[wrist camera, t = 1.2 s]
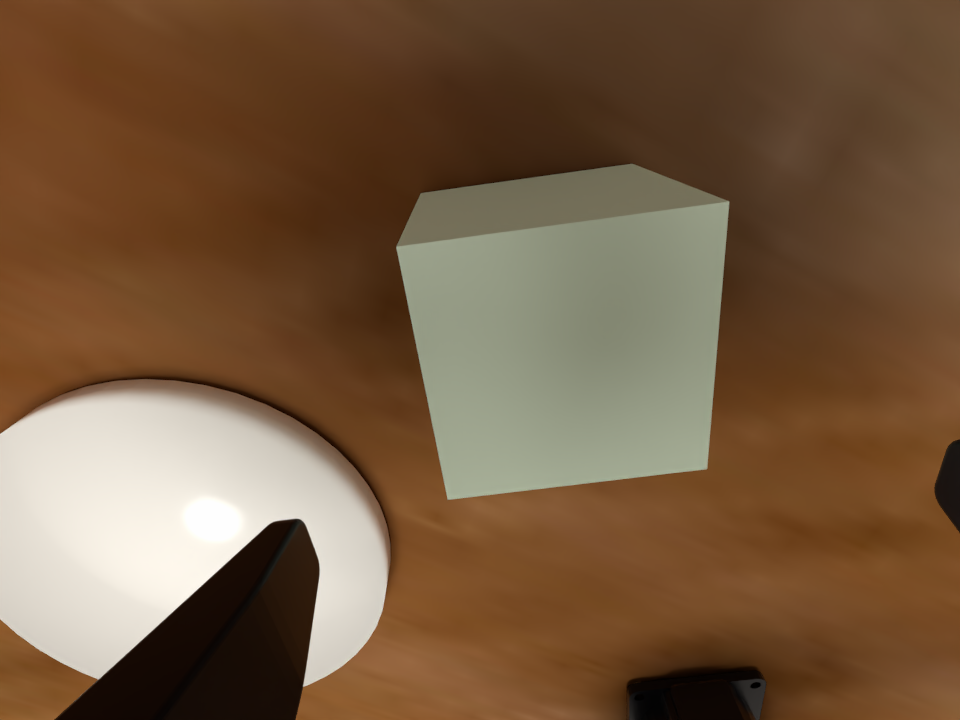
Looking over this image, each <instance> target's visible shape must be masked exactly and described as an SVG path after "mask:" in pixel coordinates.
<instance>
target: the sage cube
mask: <svg viewBox="0 0 960 720" xmlns="http://www.w3.org/2000/svg"><path fill="white" fill-rule="evenodd" d="M728 212H729V201H727V200H724V199H722V198H719V197H717V196H714V195H711V194H709V193H706V192H704V191H701V190H699V189H696V188H694V187H691V186H688V185H686V184H683V183H681V182H678V181H676V180H673V179H670V178H668V177H665V176H663V175H660V174H658V173H655V172H652V171H650V170H647V169H645V168H642V167H640V166H637V165H635V164H626V165H619V166H612V167H605V168H597V169H590V170H583V171H576V172H569V173H561V174H554V175H547V176H540V177H533V178H526V179H518V180H511V181H504V182H497V183H490V184H482V185H475V186H468V187H461V188H454V189H446V190H439V191H432V192H425V193H421V194H420V196H419V198H418V200H417V203H416V205H415V207H414V209H413V211H412V213H411V216H410V218H409V220H408V222H407V224H406V226H405V229H404V231H403V233H402V235H401V237H400V240H399V242H398V244H397V246H396V248H397V253H398V258H399V263H400V268H401V273H402V278H403V283H404V288H405V292H406V297H407V302H408V307H409V312H410V317H411V322H412V327H413V332H414V337H415V341H416V346H417V351H418V356H419V361H420V366H421V371H422V376H423V381H424V386H425V391H426V395H427V400H428V405H429V410H430V415H431V420H432V425H433V430H434V435H435V440H436V445H437V449H438V454H439V459H440V464H441V469H442V474H443V479H444V484H445V489H446V494H447V499H448V500H450V499H459V498H467V497H476V496H484V495H492V494H501V493H509V492H518V491H526V490H535V489H543V488H551V487H560V486H568V485H577V484H585V483H593V482H602V481H610V480H619V479H627V478H636V477H644V476H652V475H661V474H669V473H678V472H686V471H694V470H703V469H707V463H708V451H709V439H710V427H711V415H712V403H713V391H714V380H715V368H716V356H717V344H718V332H719V320H720V308H721V296H722V284H723V272H724V260H725V248H726V236H727V224H728Z"/></svg>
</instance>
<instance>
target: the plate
mask: <svg viewBox="0 0 960 720" xmlns="http://www.w3.org/2000/svg"><path fill="white" fill-rule="evenodd" d="M288 519H301V520H302V521H303V522H304V523H305V525H306V527H307V530H308V532H309V535H310V538H311V540H312V543H313V546H314V548H315V551H316V554H317V556H318V560H319V566H320V576H319V583H318V590H317V597H316V604H315V611H314V618H313V625H312V632H311V639H310V646H309V653H308V660H307V667H306V673H305V679H304V685H303V687H304V686H306V685H309V684H311V683H313V682H315V681H317V680H320V679H322V678H324V677H326V676H328V675H329V674H331V673H332V672H334V671H335V670H337V669H338V668H340V667H342V666H343V665H344V664H345V663H346V662H348V661H349V660H350V659H351V658H352V657H353V656H355V655H356V654H357V653H358V651H359V650H360V649H361V648H362V647H363V646H364V645H365V643H366V642H367V641H368V639H369V638H370V636H371V634H372V633H373V631H374V629H375V628H376V626H377V624H378V621H379V618H380V616H381V613H382V610H383V605H384V599H385V593H386V587H387V581H388V574H389V568H390V562H391V552H390V539H389V533H388V528H387V524H386V521H385V518H384V516H383V513H382V510H381V508H380V505H379V503H378V502H377V500H376V498H375V496H374V494H373V493H372V491H371V489H370V487H369V486H368V484H367V483H366V482H365V480H364V479H363V478H362V477H361V475H360V474H359V473H358V471H357V470H356V469H355V467H354V466H353V465H352V464H351V463H350V462H349V461H348V460H347V459H346V458H345V457H344V456H343V455H342V454H341V453H340V452H339V451H338V450H337V449H336V448H334V447H333V446H332V445H331V444H329V443H328V442H327V441H326V440H324V439H323V438H322V437H321V436H319V435H318V434H317V433H316V432H314V431H313V430H311V429H309V428H308V427H306V426H305V425H303V424H301V423H300V422H298V421H297V420H295V419H294V418H292V417H290V416H288V415H286V414H284V413H282V412H280V411H278V410H276V409H274V408H272V407H270V406H268V405H266V404H264V403H261V402H258V401H256V400H253V399H250V398H248V397H245V396H242V395H239V394H237V393H233V392H230V391H226V390H222V389H218V388H214V387H210V386H207V385H201V384H195V383H188V382H181V381H175V380H155V379H136V380H122V381H111V382H106V383H101V384H96V385H91V386H86V387H83V388H80V389H77V390H74V391H71V392H68V393H65V394H62V395H60V396H58V397H56V398H54V399H52V400H50V401H48V402H46V403H44V404H42V405H40V406H38V407H37V408H36V409H34V410H33V411H31V412H30V413H29V414H27V415H26V416H25V417H23V418H22V419H20V420H19V421H18V422H16V423H15V424H13V425H12V426H11V427H9V428H8V429H7V430H5V431H4V432H2V433H1V434H0V619H1V620H2V621H3V622H4V623H5V624H6V625H8V626H9V627H10V628H11V629H12V630H13V631H14V632H16V633H17V634H18V635H19V636H21V637H22V638H23V639H25V640H26V641H28V642H29V643H30V644H32V645H33V646H35V647H36V648H37V649H39V650H41V651H42V652H44V653H46V654H47V655H49V656H51V657H52V658H54V659H56V660H57V661H59V662H61V663H63V664H65V665H67V666H69V667H71V668H73V669H75V670H78V671H80V672H82V673H84V674H87V675H89V676H92V677H94V678H97V679H100V678H101V677H102V676H103V675H104V674H105V673H106V672H107V671H108V670H109V669H111V668H112V667H113V666H114V665H115V664H116V663H117V662H118V661H119V660H120V659H122V658H123V657H124V656H125V655H126V654H127V653H128V652H129V651H130V650H131V649H133V648H134V647H135V646H136V645H137V644H138V643H139V642H140V641H141V640H142V639H143V638H145V637H146V636H147V635H148V634H149V633H150V632H151V631H152V630H153V629H154V628H156V627H157V626H158V625H159V624H160V623H161V622H162V621H163V620H164V619H165V618H167V617H168V616H169V615H170V614H171V613H172V612H173V611H174V610H175V609H176V608H178V607H179V606H180V605H181V604H182V603H183V602H184V601H185V600H186V599H187V598H188V597H190V596H191V595H192V594H193V593H194V592H195V591H196V590H197V589H198V588H199V587H201V586H202V585H203V584H204V583H205V582H206V581H207V580H208V579H209V578H210V577H212V576H213V575H214V574H215V573H216V572H217V571H218V570H219V569H220V568H221V567H223V566H224V565H225V564H226V563H227V562H228V561H229V560H230V559H231V558H232V557H233V556H235V555H236V554H237V553H238V552H239V551H240V550H241V549H242V548H243V547H244V546H246V545H247V544H248V543H249V542H250V541H251V540H252V539H253V538H254V537H255V536H257V535H258V534H259V533H260V532H261V531H262V530H263V529H264V528H265V527H266V526H268V525H269V524H270V523H272V522H274V521H279V520H288Z"/></svg>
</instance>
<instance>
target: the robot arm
mask: <svg viewBox="0 0 960 720" xmlns="http://www.w3.org/2000/svg"><path fill="white" fill-rule="evenodd" d="M934 488H935V496H936V499H937V501H938V503H939V505H940V507H941V508H942V509H943V511H944V512H945V513H946V515H947V516H948V518H949V519H950V520H951V522H952V523H953V524H954V526H955V527H956V528H957V530H958V531H959V532H960V439H959V440H956V441H953V442H952V443H951V444H950V445H949V446H948V448H947V450H946V453H945V456H944V459H943V462H942V465H941V468H940V471H939V474H938V477H937V480H936V483H935V487H934ZM319 576H320V566H319V560H318V556H317V554H316V551H315V548H314V546H313V543H312V540H311V538H310V535H309V532H308V530H307V527H306V525H305V523H304V522H303V521H302V520H301V519H288V520H279V521H274V522H272V523H270V524H269V525H268V526H266V527H265V528H264V529H263V530H262V531H261V532H260V533H259V534H258V535H257V536H255V537H254V538H253V539H252V540H251V541H250V542H249V543H248V544H247V545H246V546H244V547H243V548H242V549H241V550H240V551H239V552H238V553H237V554H236V555H235V556H233V557H232V558H231V559H230V560H229V561H228V562H227V563H226V564H225V565H224V566H223V567H221V568H220V569H219V570H218V571H217V572H216V573H215V574H214V575H213V576H212V577H210V578H209V579H208V580H207V581H206V582H205V583H204V584H203V585H202V586H201V587H199V588H198V589H197V590H196V591H195V592H194V593H193V594H192V595H191V596H190V597H188V598H187V599H186V600H185V601H184V602H183V603H182V604H181V605H180V606H179V607H178V608H176V609H175V610H174V611H173V612H172V613H171V614H170V615H169V616H168V617H167V618H165V619H164V620H163V621H162V622H161V623H160V624H159V625H158V626H157V627H156V628H154V629H153V630H152V631H151V632H150V633H149V634H148V635H147V636H146V637H145V638H143V639H142V640H141V641H140V642H139V643H138V644H137V645H136V646H135V647H134V648H133V649H131V650H130V651H129V652H128V653H127V654H126V655H125V656H124V657H123V658H122V659H120V660H119V661H118V662H117V663H116V664H115V665H114V666H113V667H112V668H111V669H109V670H108V671H107V672H106V673H105V674H104V675H103V676H102V677H101V678H100V679H98V680H97V681H96V682H95V683H94V684H93V685H92V686H91V687H90V688H89V689H88V690H86V691H85V692H84V693H83V694H82V695H81V696H80V697H79V698H78V699H77V700H75V701H74V702H73V703H72V704H71V705H70V706H69V707H68V708H67V709H66V710H64V711H63V712H62V713H61V714H60V715H59V716H58V717H57V718H56V719H55V720H295V719H296V715H297V711H298V707H299V703H300V698H301V694H302V689H303V685H304V679H305V673H306V667H307V660H308V653H309V646H310V639H311V632H312V625H313V618H314V611H315V604H316V597H317V590H318V583H319ZM765 688H766V681H765V679H764V677H763V675H762V674H761V673H760V672H759V671H744V672H735V673H725V674H716V675H706V676H697V677H687V678H678V679H668V680H659V681H649V682H640V683H634V684H632V685H630V686H629V687H628V688H627V720H759V719H760V714H761V709H762V703H763V698H764V693H765Z"/></svg>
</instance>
